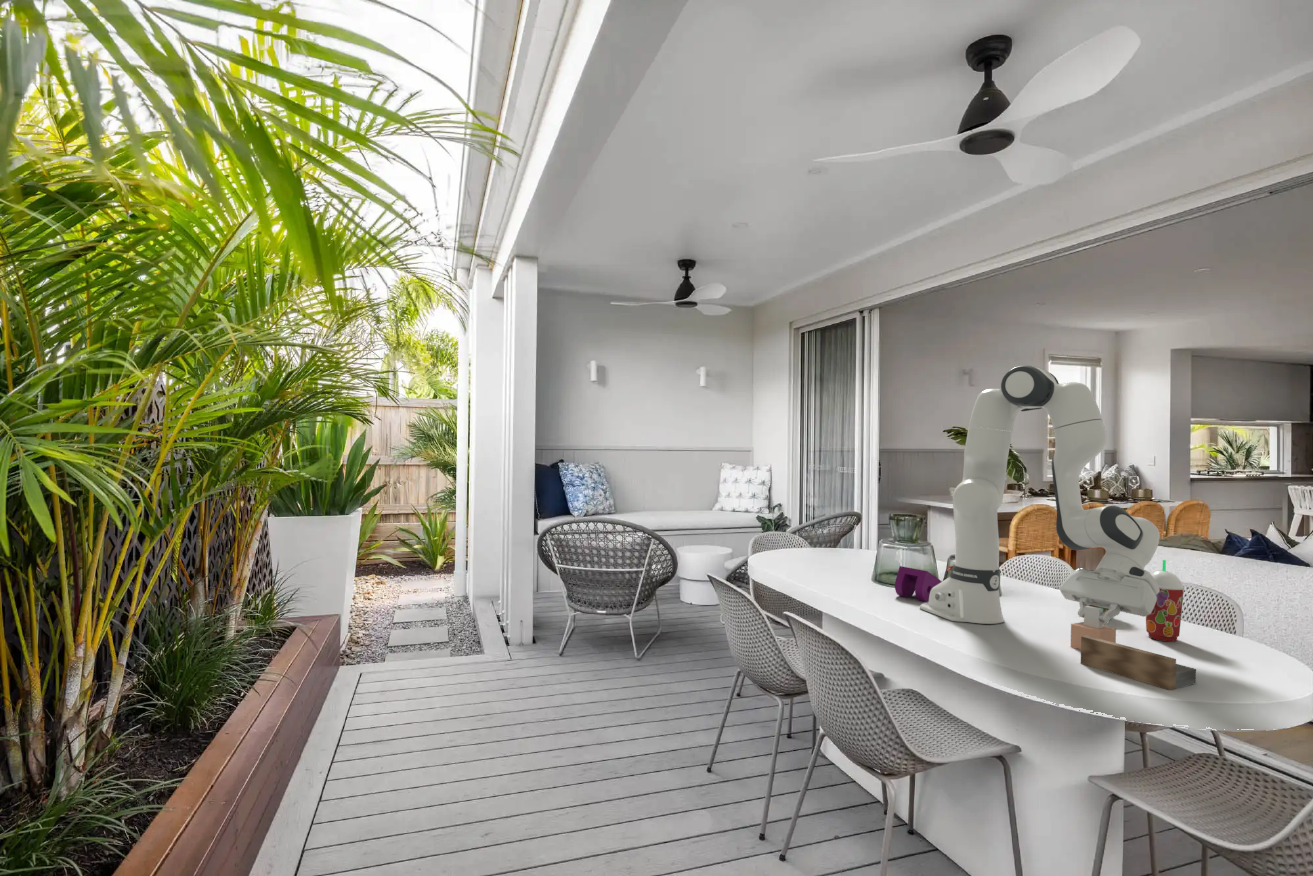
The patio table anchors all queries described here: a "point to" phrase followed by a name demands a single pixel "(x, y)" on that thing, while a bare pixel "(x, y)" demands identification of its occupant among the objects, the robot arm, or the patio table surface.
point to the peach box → (1091, 628)
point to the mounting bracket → (915, 583)
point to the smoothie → (1166, 607)
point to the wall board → (1135, 663)
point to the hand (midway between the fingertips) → (1091, 618)
